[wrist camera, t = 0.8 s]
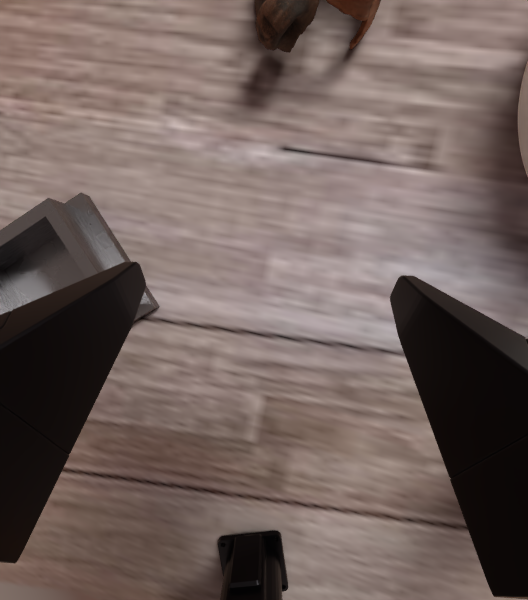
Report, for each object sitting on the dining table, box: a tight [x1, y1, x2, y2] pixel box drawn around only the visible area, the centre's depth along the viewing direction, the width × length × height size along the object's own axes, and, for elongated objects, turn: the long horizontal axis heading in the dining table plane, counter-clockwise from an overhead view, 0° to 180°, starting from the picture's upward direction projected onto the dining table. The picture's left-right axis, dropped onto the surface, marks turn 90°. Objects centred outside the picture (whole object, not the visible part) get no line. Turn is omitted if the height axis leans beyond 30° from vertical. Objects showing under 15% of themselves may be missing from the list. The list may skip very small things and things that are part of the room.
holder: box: [0, 193, 159, 323], centre depth 22 cm, size 12×12×4 cm
